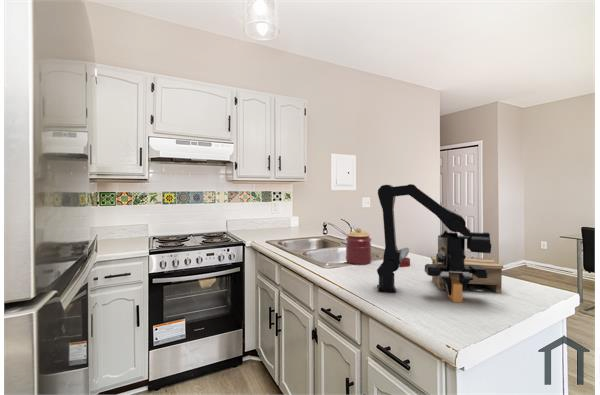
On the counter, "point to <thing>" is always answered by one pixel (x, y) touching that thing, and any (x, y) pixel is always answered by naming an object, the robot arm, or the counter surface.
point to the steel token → (476, 288)
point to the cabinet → (488, 264)
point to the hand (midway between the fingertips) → (454, 295)
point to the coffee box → (441, 245)
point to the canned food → (405, 258)
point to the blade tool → (455, 290)
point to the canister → (358, 247)
